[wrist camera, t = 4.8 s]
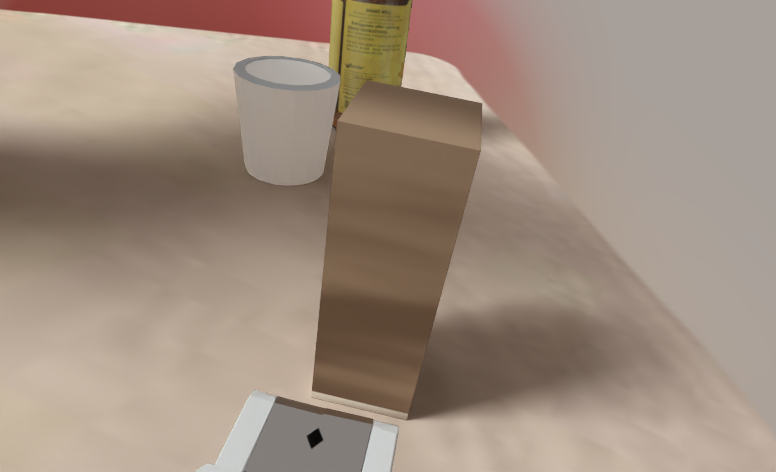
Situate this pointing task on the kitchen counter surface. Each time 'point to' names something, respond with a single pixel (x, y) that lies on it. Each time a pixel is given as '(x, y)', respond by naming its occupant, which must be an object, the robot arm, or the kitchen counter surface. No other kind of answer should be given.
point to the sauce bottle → (367, 45)
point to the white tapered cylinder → (285, 117)
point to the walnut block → (390, 240)
